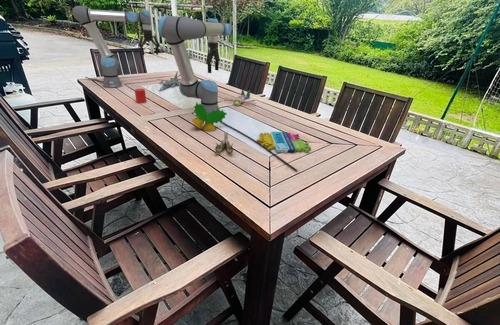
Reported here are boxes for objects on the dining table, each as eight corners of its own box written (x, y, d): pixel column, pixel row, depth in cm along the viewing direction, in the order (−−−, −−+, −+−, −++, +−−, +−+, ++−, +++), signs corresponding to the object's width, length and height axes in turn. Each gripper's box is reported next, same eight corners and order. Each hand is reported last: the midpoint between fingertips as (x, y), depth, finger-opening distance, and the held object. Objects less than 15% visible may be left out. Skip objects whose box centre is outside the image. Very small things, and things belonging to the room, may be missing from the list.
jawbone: (234, 135, 144) (233, 125, 135) (233, 160, 138) (232, 151, 129) (217, 135, 144) (216, 125, 135) (216, 160, 138) (214, 150, 129)
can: (139, 100, 207) (137, 88, 202) (148, 101, 206) (146, 89, 201) (134, 102, 200) (132, 90, 196) (143, 103, 200) (141, 91, 195)
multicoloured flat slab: (313, 150, 142) (258, 149, 139) (312, 153, 143) (258, 152, 140) (301, 132, 164) (254, 130, 161) (301, 134, 165) (254, 133, 162)
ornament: (218, 133, 171) (224, 110, 169) (221, 134, 163) (227, 111, 161) (186, 125, 162) (192, 101, 160) (189, 126, 155) (195, 101, 153)
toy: (261, 91, 228) (254, 99, 202) (261, 99, 231) (253, 108, 205) (231, 87, 233) (220, 95, 207) (230, 95, 236) (219, 104, 210)
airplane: (151, 82, 259) (149, 71, 254) (182, 80, 273) (181, 70, 267) (158, 92, 231) (157, 81, 226) (193, 90, 244) (192, 79, 239)
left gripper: (135, 29, 226) (139, 56, 237) (162, 30, 242) (164, 54, 253) (131, 29, 231) (135, 54, 241) (158, 29, 247) (160, 53, 257)
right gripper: (215, 40, 207) (215, 68, 217) (200, 42, 186) (201, 73, 196) (224, 41, 205) (223, 69, 215) (210, 43, 184) (210, 74, 194)
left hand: (150, 54), depth 247 cm, fingers open, 13 cm apart
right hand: (213, 71), depth 206 cm, fingers open, 13 cm apart
